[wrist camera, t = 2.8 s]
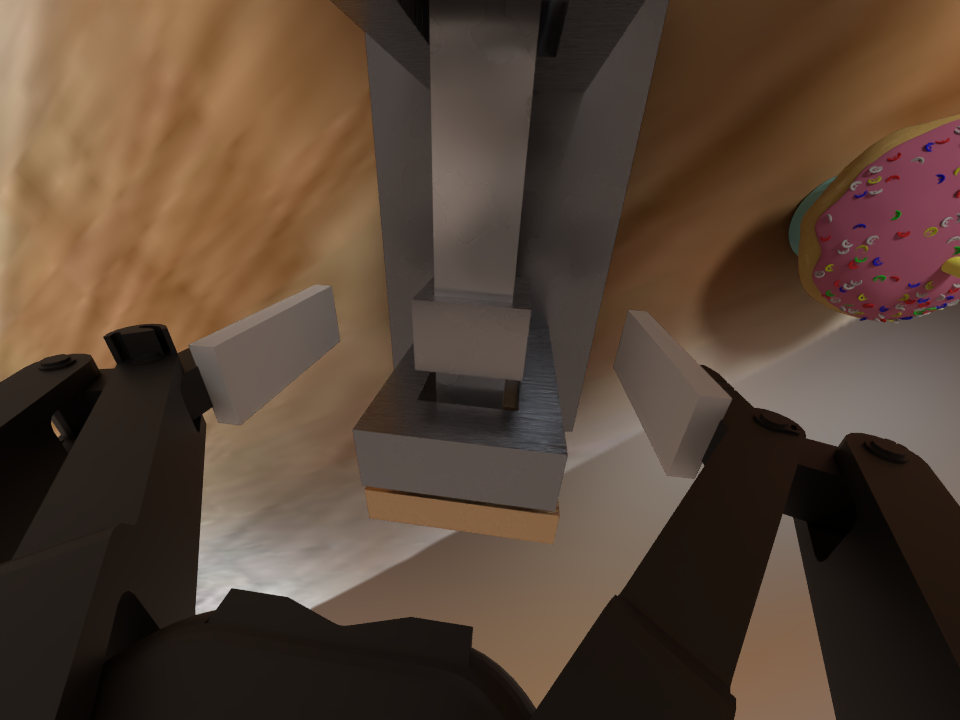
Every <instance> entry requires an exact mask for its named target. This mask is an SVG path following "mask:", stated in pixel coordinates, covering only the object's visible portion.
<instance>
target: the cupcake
mask: <svg viewBox="0 0 960 720" xmlns="http://www.w3.org/2000/svg"><path fill="white" fill-rule="evenodd" d="M789 243H790V246H791V248H792V250H793V251H794V253H795V254H796V255H797V256H798V270H799V276H800V280H801V283H802V285H803V287H804V289H805V290H806V292H807V293H808V294H809V295H810V296H811V297H812V298H814V299H815V300H817V301H818V302H820V303H821V304H823V305H825V306H827V307H828V308H830V309H832V310H835V311H837V312H840V313H843V314H847V315H850V316H853V317H857V318H861V319H860V321H862V320H866V319H868V320H875V321H877V322H880V321H882V322H886V321H889V322H892V323H899V322H900V320H899V319H902V320H903V319H904V320H905V319H906V320H908V319H912V318H913V317H921V316H923V315H928V314H930V312H932V311H935V310H942V309H944V307H946V306H952V305H955V304H957V303H958V302H959V300H960V114H959V115H954V116H950V117H947V118H943V119H939V120H936V121H932V122H928V123H925V124H921V125H916V126H911V127H907V128H903V129H900V130H897V131H895V132H893V133H891V134H890V135H888V136H886V137H885V138H883V139H881V140H880V141H878V142H876V143H875V144H873V145H872V146H870V147H869V148H868V149H866V150H865V151H864V152H863V153H862V154H860V155H859V156H858V157H857V158H856V159H854V160H853V161H852V162H851V163H850V164H849V165H848V166H846V167H845V168H844V170H843V171H842V172H841V173H840V174H839V175H838V176H836V177H833V178H831V179H829V180H827V181H826V182H824V183H823V184H821V185H820V186H818V187H817V188H816V189H814V190H813V191H812V192H811V193H810V194H809V195H808V196H807V197H806V198H805V199H804V200H803V201H802V203H801V204H800V205H799V207H798V208H797V210H796V211H795V213H794V215H793V217H792V220H791V223H790V227H789ZM919 314H921V315H919ZM916 315H919V316H916ZM909 316H910V317H909ZM908 317H909V318H908ZM897 318H898V319H897ZM893 321H897V322H893Z"/></svg>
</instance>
